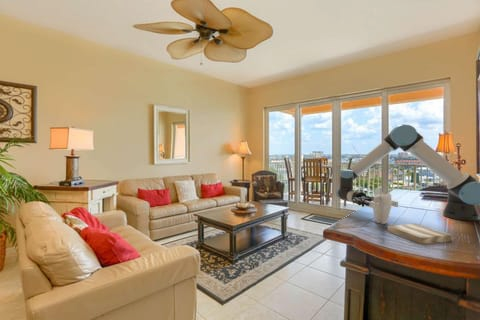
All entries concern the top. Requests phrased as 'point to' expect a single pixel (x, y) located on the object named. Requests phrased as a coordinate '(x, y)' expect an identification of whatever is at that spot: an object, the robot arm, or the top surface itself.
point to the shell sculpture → (382, 206)
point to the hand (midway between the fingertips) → (386, 205)
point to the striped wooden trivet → (419, 233)
